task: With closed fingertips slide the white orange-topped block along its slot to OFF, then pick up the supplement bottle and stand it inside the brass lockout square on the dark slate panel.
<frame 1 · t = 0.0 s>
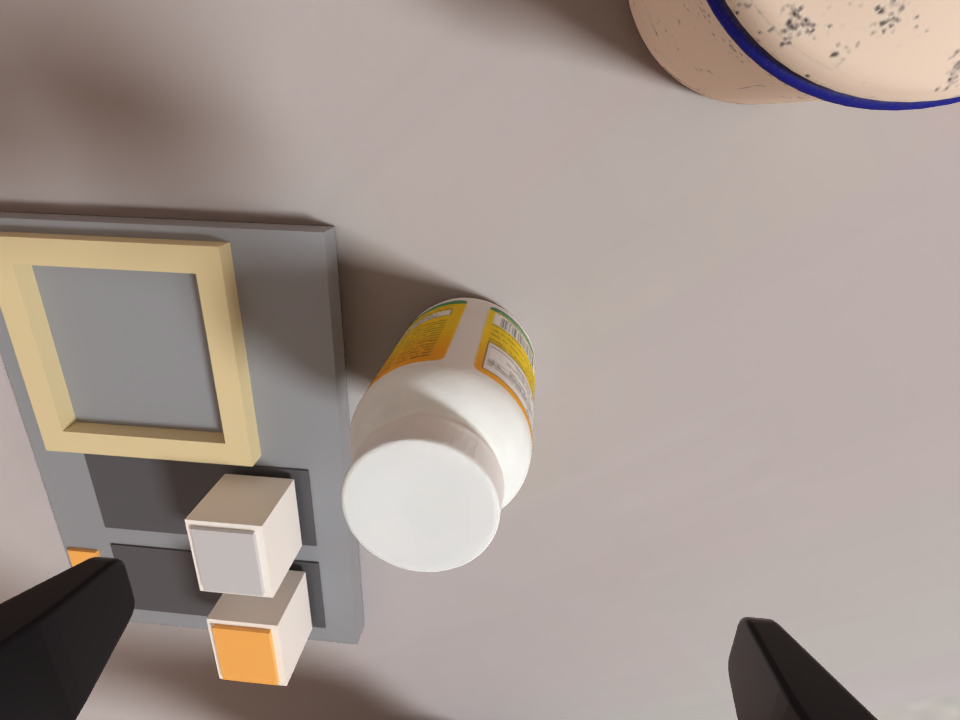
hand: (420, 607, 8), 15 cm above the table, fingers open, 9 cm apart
white orange-topped block: (262, 625, 25), point 3 cm above the table, slide at 0.0 cm
toggle plain: (247, 535, 23), point 3 cm above the table, slide at 0.0 cm
breaker panel: (199, 445, 26), on the table
supplement bottle: (467, 356, 23), on the table
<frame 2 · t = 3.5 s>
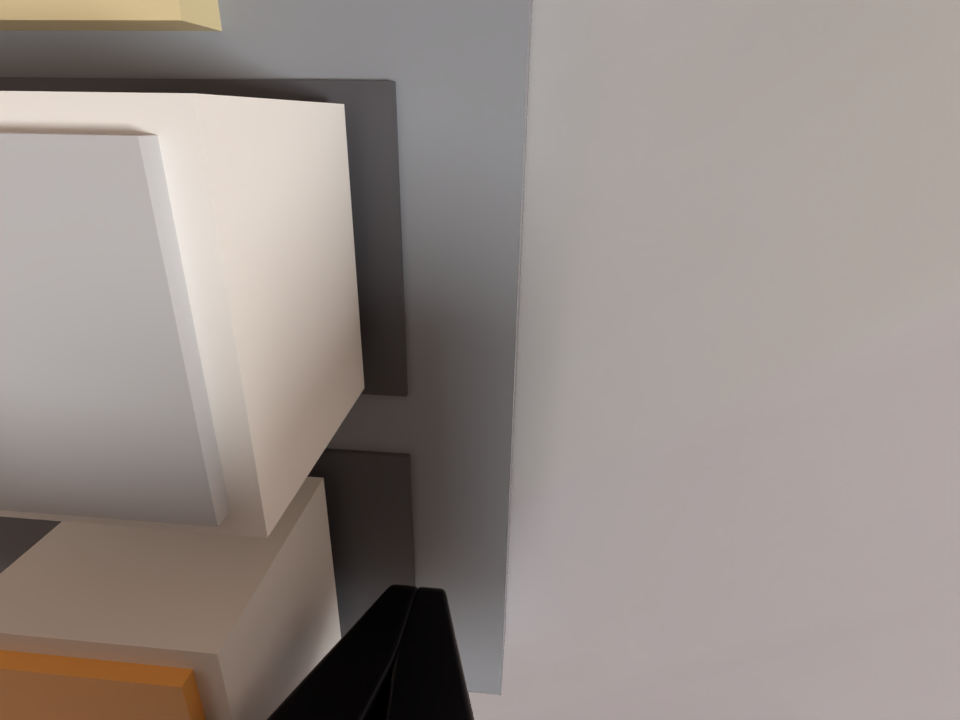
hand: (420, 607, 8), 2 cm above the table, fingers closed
white orange-topped block: (186, 647, 8), point 3 cm above the table, slide at 0.7 cm, touching gripper
toggle plain: (160, 291, 6), point 3 cm above the table, slide at 0.0 cm
breaker panel: (35, 82, 8), on the table
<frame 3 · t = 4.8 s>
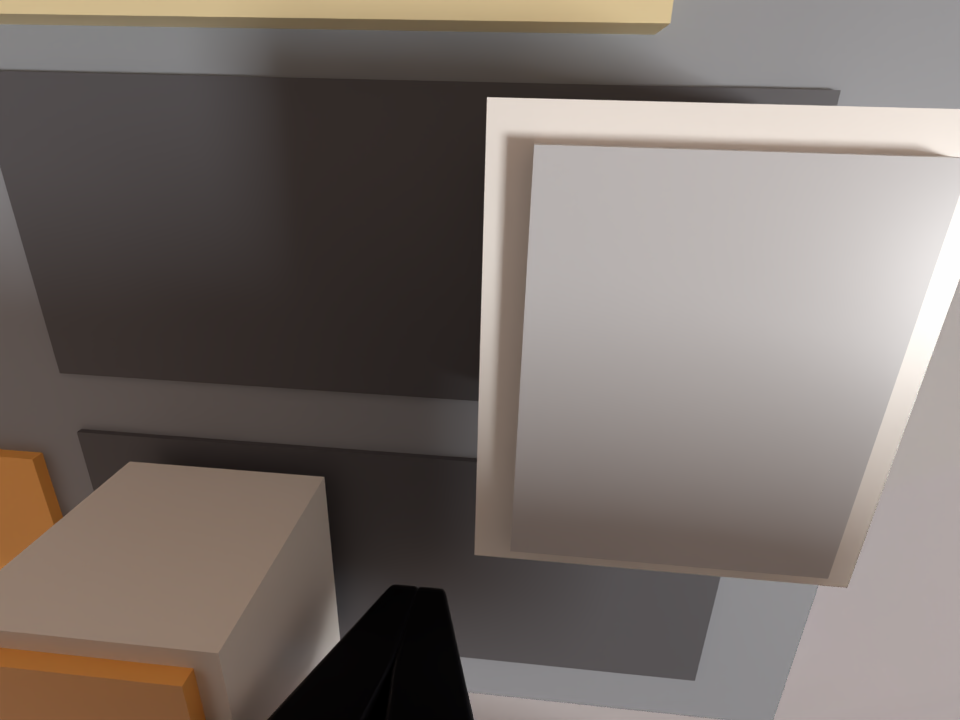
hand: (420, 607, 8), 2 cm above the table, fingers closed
white orange-topped block: (185, 646, 8), point 3 cm above the table, slide at 5.5 cm, touching gripper
toggle plain: (655, 314, 5), point 3 cm above the table, slide at 0.0 cm
breaker panel: (368, 84, 8), on the table
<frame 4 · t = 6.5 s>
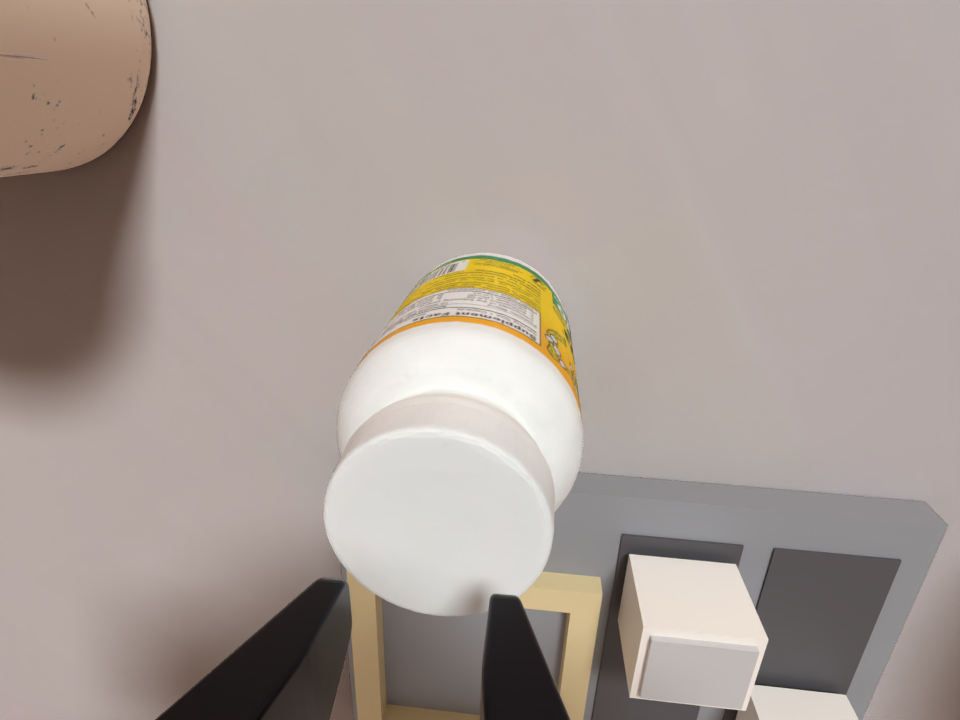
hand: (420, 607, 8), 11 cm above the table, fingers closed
toggle plain: (685, 631, 18), point 3 cm above the table, slide at 0.0 cm
breaker panel: (600, 623, 23), on the table
supplement bottle: (486, 330, 19), on the table
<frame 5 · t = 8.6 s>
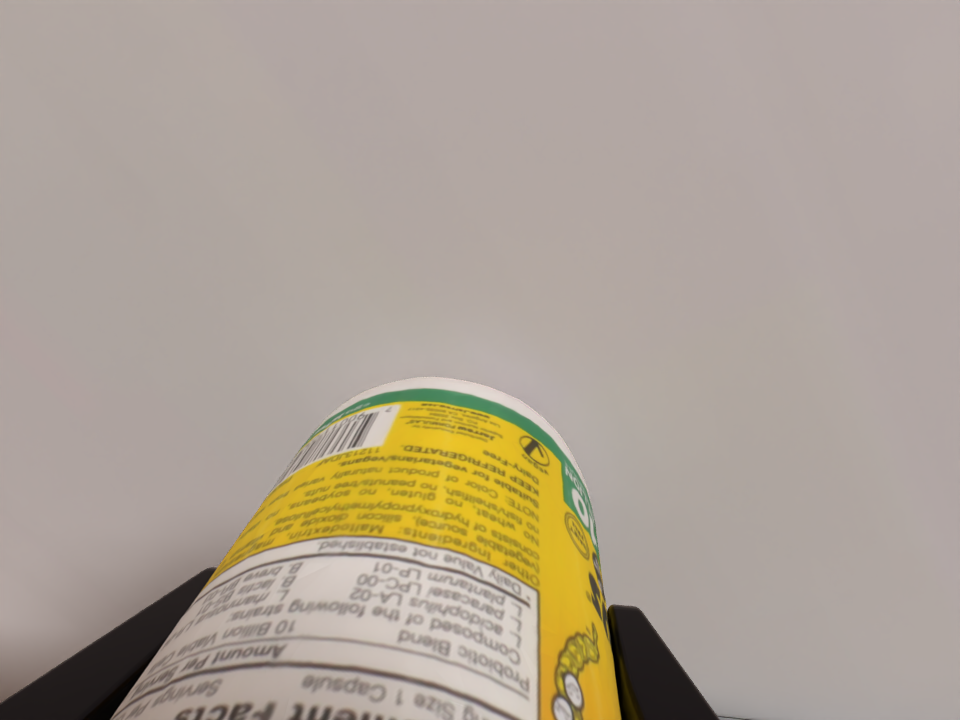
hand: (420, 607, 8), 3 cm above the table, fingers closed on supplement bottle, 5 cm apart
supplement bottle: (446, 493, 11), on the table, touching gripper
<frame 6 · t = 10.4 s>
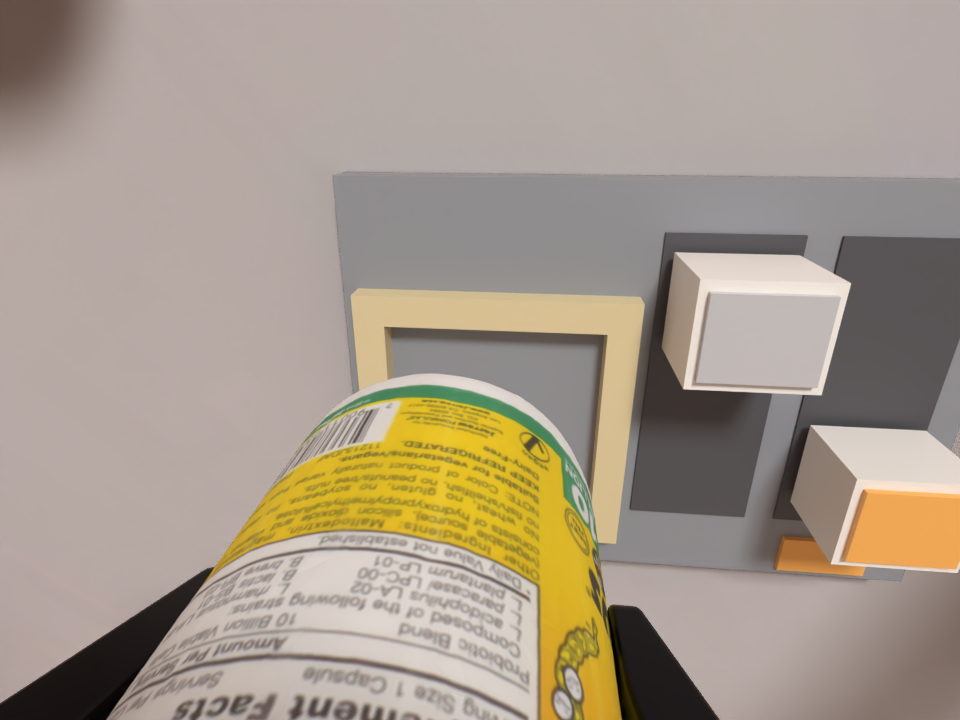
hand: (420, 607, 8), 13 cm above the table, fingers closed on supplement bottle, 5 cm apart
white orange-topped block: (881, 497, 17), point 3 cm above the table, slide at 5.5 cm
toggle plain: (744, 320, 16), point 3 cm above the table, slide at 0.0 cm
breaker panel: (638, 382, 20), on the table
supplement bottle: (446, 490, 11), point 10 cm above the table, touching gripper
when the fingers open (5 cm above the table, at t = 12.4 s): supplement bottle drops 1 cm, resting on breaker panel.
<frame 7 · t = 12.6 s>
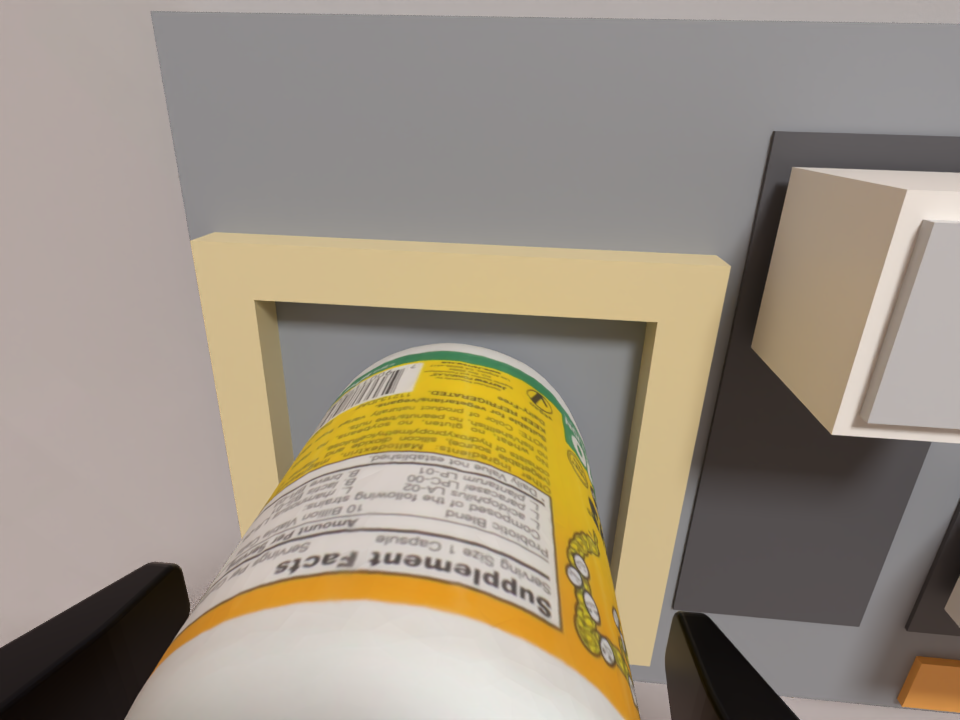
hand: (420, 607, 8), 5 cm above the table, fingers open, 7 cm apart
toggle plain: (946, 296, 8), point 3 cm above the table, slide at 0.0 cm
breaker panel: (693, 405, 12), on the table
supplement bottle: (456, 453, 12), point 1 cm above the table, touching breaker panel
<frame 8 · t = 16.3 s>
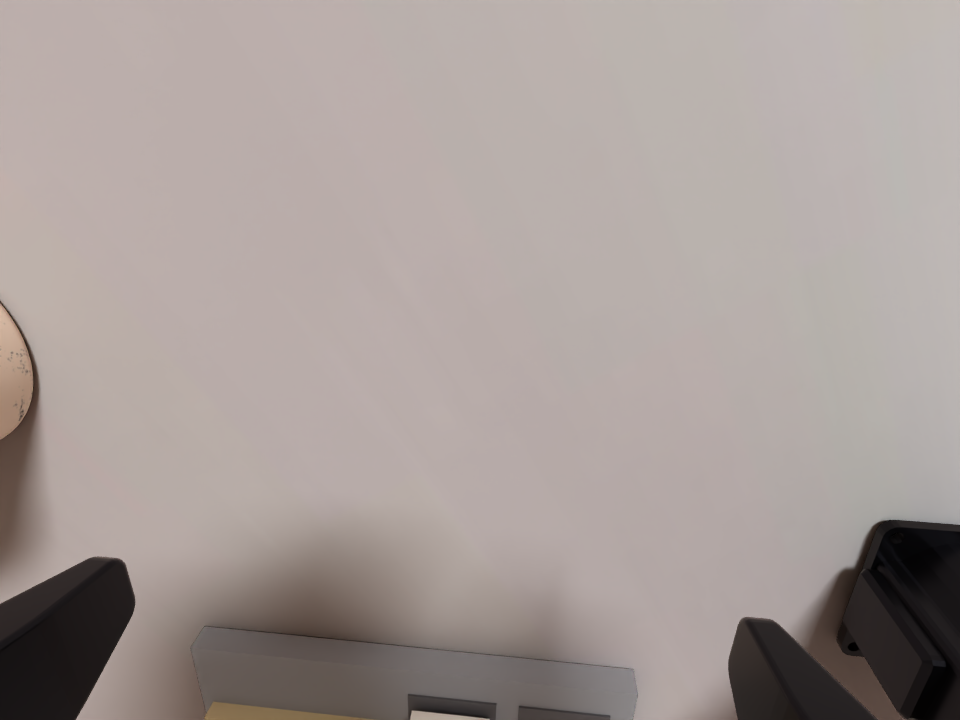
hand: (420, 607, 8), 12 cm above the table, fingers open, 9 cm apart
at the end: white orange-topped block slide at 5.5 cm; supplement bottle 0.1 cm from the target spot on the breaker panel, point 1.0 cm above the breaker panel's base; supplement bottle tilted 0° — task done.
